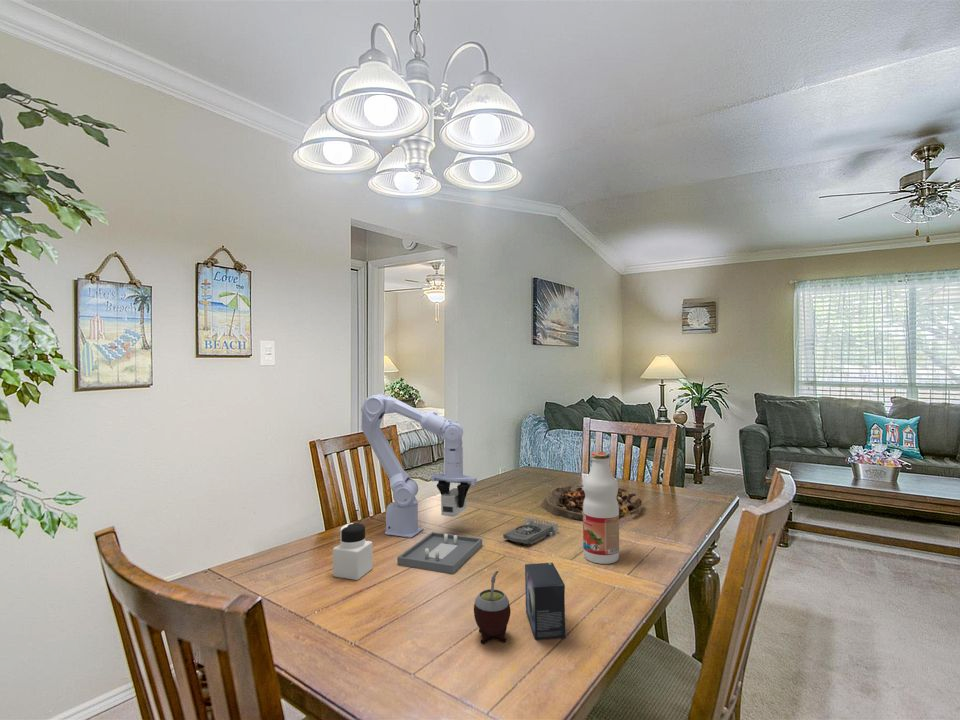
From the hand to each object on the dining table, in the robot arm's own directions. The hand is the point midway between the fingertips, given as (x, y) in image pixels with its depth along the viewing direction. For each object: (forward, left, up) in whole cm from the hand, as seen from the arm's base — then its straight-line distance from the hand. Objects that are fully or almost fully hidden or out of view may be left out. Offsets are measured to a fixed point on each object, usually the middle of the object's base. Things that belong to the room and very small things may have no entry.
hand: (453, 506), depth 154 cm
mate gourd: (+31, -50, -8) cm, 59 cm away
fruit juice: (+45, -4, -8) cm, 46 cm away
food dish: (+35, +40, -9) cm, 54 cm away
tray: (+4, -17, -8) cm, 19 cm away
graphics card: (+22, +5, -9) cm, 24 cm away
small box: (+39, -42, -8) cm, 58 cm away
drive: (0, 0, -2) cm, 2 cm away
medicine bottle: (-12, -35, -8) cm, 38 cm away
